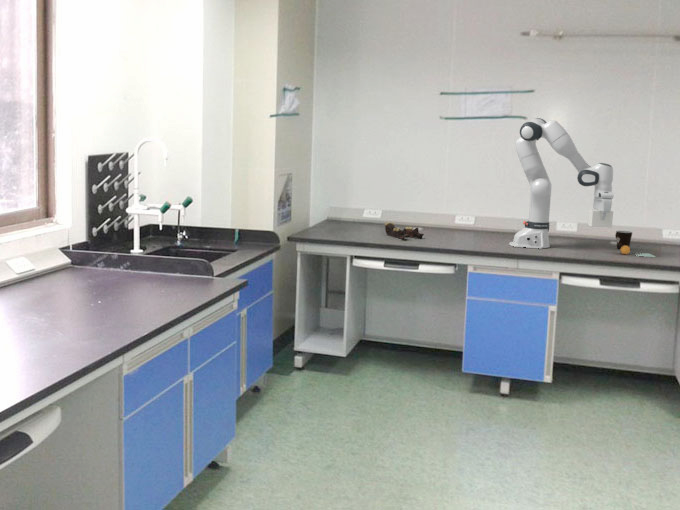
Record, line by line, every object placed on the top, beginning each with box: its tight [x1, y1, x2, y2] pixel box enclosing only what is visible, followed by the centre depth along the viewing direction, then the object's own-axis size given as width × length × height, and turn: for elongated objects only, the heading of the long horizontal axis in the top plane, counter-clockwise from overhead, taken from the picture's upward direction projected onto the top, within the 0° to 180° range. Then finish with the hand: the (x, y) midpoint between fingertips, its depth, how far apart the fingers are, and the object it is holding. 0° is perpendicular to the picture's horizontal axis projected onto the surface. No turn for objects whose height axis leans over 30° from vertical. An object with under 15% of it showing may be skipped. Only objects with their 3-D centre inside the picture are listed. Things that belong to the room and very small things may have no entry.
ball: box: [620, 245, 631, 255], centre depth 431 cm, size 5×5×5 cm
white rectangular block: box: [587, 208, 614, 228], centre depth 429 cm, size 11×7×9 cm, turn 88°
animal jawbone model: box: [384, 221, 425, 242], centre depth 468 cm, size 17×25×10 cm
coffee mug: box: [614, 230, 633, 250], centre depth 450 cm, size 12×9×10 cm
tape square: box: [636, 252, 656, 258], centre depth 431 cm, size 10×10×1 cm
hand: (600, 218), depth 429 cm, fingers closed on white rectangular block, 7 cm apart
